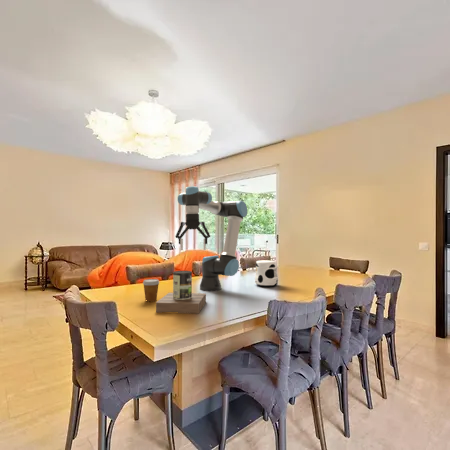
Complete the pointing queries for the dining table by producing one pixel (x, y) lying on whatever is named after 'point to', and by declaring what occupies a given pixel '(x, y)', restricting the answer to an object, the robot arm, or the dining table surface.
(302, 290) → the dining table surface
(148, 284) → the disposable coffee cup
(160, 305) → the walnut plinth
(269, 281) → the milk container
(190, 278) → the coffee can
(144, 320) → the dining table surface
